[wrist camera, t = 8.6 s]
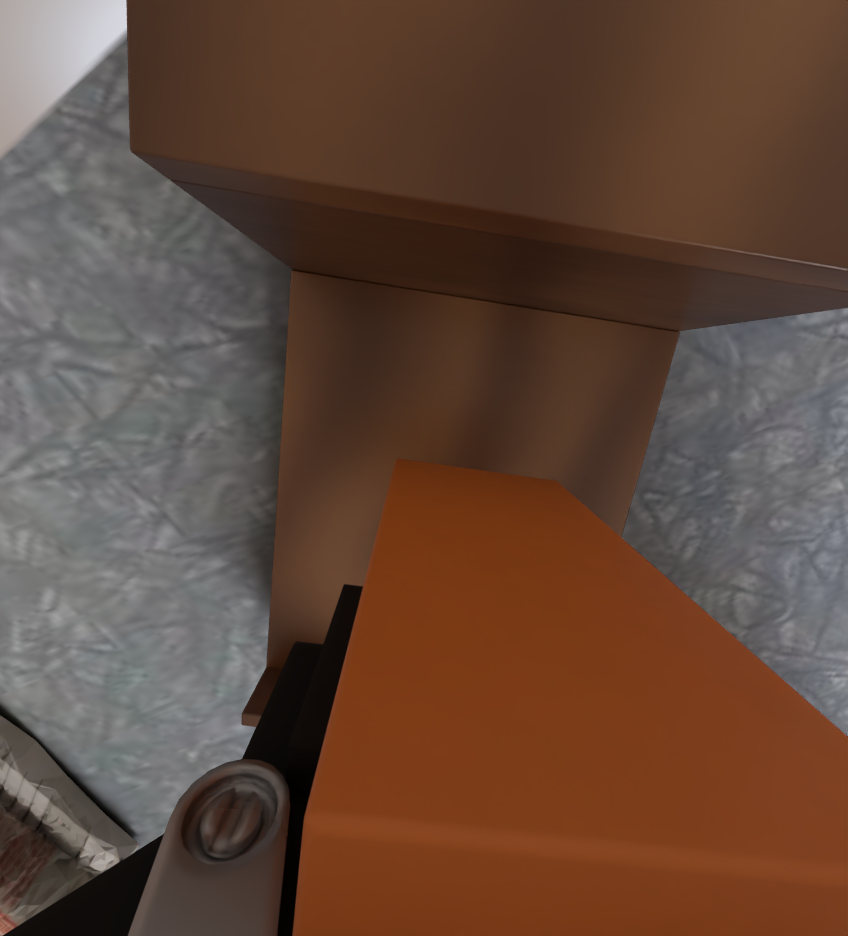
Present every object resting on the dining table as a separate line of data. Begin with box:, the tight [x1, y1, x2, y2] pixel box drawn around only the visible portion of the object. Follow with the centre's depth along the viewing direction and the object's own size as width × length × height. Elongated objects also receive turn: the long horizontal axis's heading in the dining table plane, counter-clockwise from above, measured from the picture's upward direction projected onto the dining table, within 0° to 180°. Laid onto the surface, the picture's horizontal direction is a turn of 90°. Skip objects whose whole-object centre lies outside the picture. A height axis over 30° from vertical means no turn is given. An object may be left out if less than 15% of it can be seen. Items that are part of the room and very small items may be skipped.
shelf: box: [127, 0, 848, 727], centre depth 13 cm, size 14×22×11 cm, turn 172°
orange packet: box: [292, 459, 848, 936], centre depth 7 cm, size 4×8×8 cm, turn 172°
